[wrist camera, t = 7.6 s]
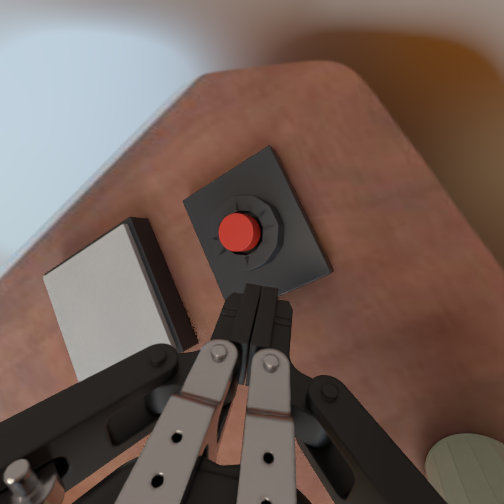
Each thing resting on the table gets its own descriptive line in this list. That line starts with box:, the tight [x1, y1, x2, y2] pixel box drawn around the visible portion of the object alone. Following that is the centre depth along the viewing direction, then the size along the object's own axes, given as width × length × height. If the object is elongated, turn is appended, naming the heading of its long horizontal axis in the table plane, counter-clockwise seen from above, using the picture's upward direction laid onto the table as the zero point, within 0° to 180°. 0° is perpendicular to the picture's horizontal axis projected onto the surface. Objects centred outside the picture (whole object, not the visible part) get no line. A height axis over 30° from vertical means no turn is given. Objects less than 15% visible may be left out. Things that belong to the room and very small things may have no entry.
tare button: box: [219, 213, 261, 252], centre depth 23 cm, size 3×3×2 cm
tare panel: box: [183, 145, 333, 300], centre depth 25 cm, size 11×9×3 cm
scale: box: [43, 217, 198, 382], centre depth 30 cm, size 13×13×3 cm
